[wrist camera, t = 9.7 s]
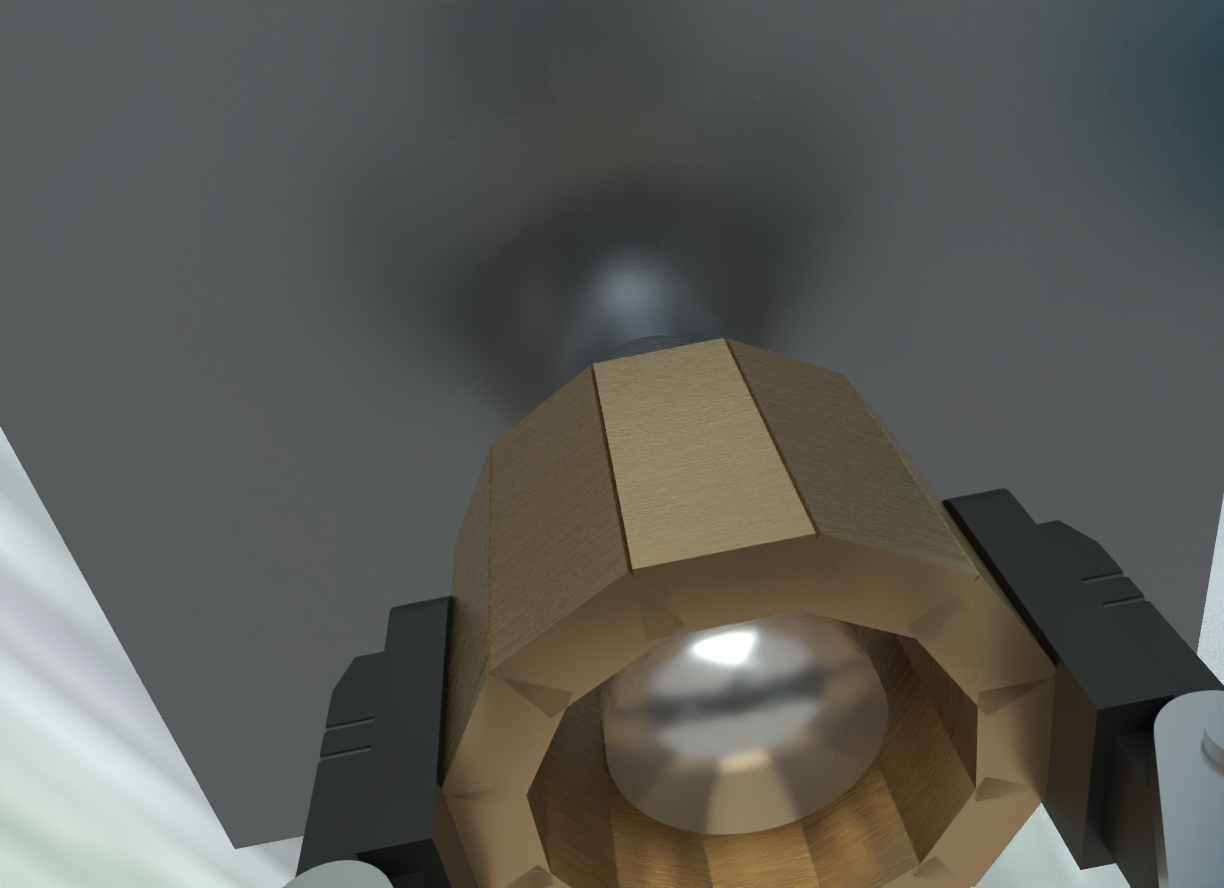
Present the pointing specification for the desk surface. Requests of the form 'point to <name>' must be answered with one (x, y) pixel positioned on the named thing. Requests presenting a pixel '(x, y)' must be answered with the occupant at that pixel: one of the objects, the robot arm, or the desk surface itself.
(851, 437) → the bronze ring
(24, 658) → the desk surface
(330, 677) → the piston stand
